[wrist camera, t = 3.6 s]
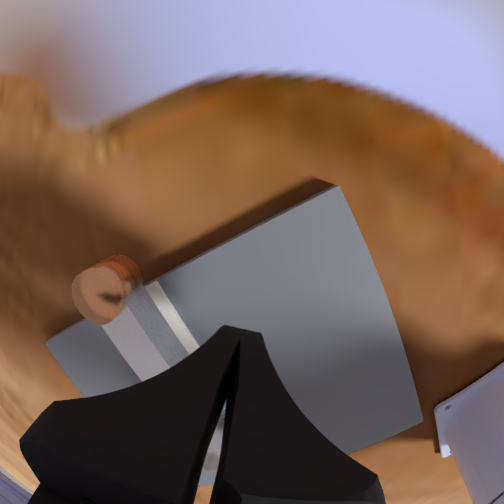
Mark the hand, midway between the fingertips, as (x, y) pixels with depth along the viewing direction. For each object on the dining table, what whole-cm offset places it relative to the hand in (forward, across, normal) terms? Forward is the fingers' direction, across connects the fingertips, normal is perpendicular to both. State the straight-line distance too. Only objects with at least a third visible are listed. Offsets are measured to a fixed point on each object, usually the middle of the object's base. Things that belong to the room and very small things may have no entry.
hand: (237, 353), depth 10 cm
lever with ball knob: (+3, +2, +4) cm, 5 cm away
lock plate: (+5, 0, +7) cm, 8 cm away
